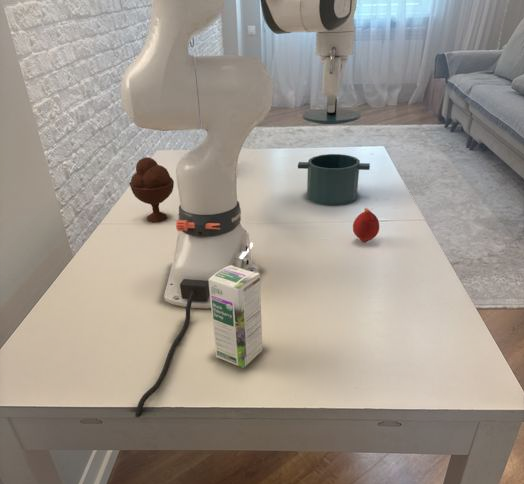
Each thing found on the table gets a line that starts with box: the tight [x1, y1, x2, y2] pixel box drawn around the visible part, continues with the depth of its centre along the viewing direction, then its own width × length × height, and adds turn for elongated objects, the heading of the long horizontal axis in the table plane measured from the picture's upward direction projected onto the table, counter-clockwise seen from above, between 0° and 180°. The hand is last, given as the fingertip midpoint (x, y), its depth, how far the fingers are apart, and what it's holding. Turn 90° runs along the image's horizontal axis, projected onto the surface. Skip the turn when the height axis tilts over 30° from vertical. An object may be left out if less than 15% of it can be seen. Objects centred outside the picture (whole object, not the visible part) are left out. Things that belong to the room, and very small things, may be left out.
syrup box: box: [209, 265, 263, 369], centre depth 76 cm, size 6×6×14 cm
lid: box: [301, 98, 362, 125], centre depth 123 cm, size 15×15×5 cm
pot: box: [297, 153, 371, 206], centre depth 134 cm, size 14×19×10 cm
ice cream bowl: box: [128, 156, 175, 224], centre depth 123 cm, size 11×11×15 cm
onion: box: [352, 207, 380, 243], centre depth 110 cm, size 6×6×8 cm
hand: (331, 110), depth 123 cm, fingers closed on lid, 2 cm apart
